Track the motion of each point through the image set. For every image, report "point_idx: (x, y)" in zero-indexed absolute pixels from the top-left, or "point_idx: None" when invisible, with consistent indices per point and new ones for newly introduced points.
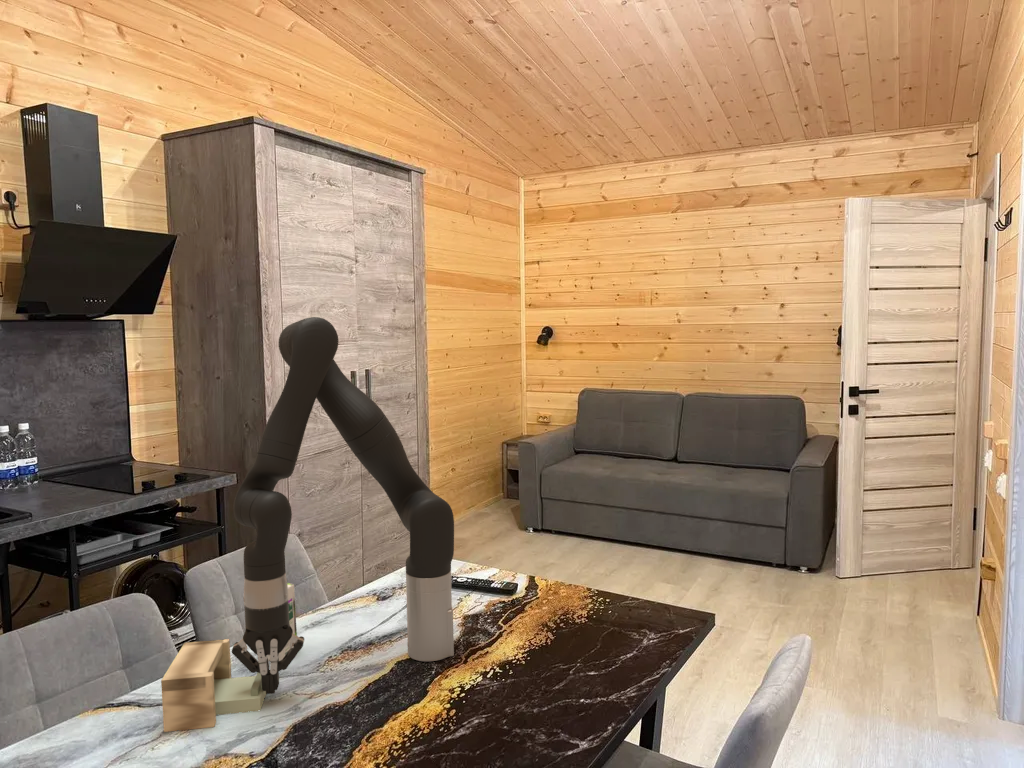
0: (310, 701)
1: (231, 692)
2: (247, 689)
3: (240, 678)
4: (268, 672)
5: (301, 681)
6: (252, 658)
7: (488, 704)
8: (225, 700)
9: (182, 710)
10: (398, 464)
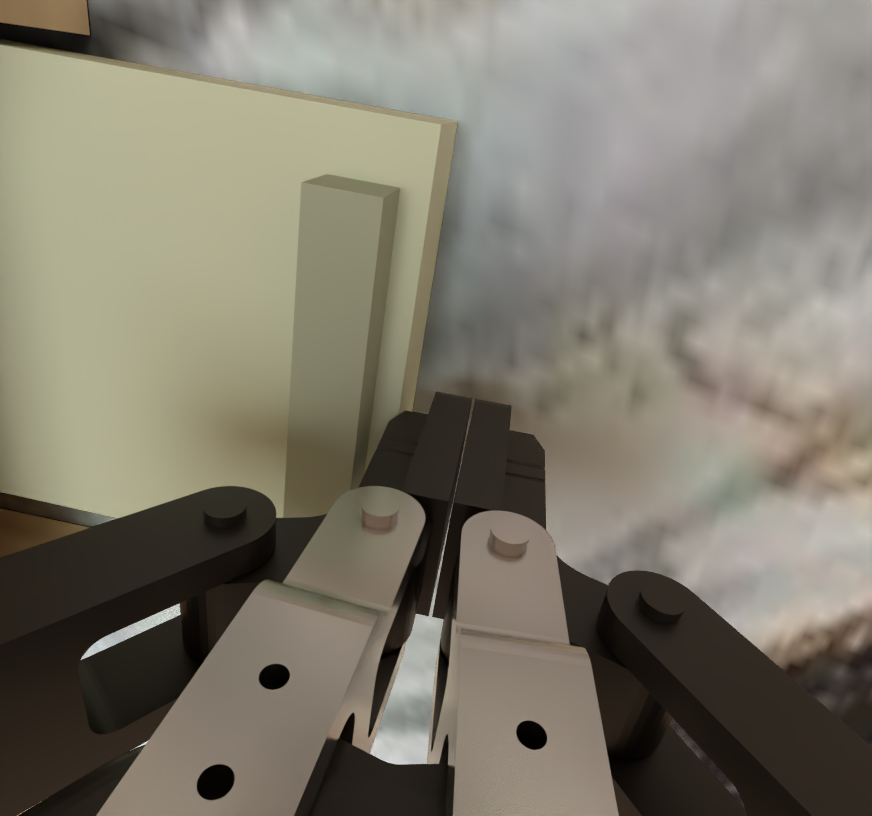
0: (764, 531)
1: (126, 395)
2: (255, 395)
3: (133, 106)
4: (422, 579)
5: (805, 126)
6: (140, 609)
7: None
8: (117, 508)
9: None
10: None
